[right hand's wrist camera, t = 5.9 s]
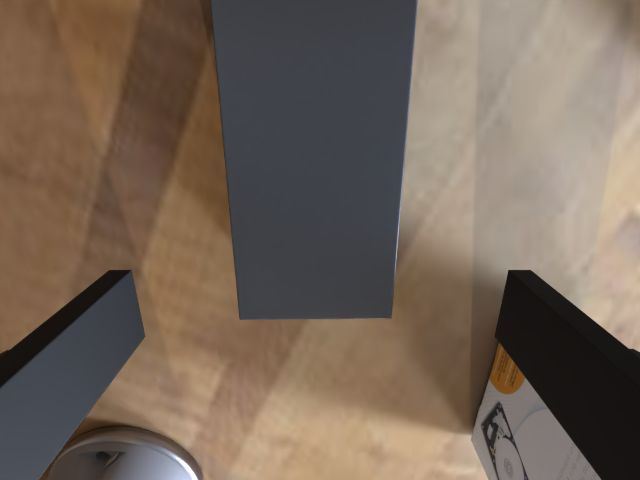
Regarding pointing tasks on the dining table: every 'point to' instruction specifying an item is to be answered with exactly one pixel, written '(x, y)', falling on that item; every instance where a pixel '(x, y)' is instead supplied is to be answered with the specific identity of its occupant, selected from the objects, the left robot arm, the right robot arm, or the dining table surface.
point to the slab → (314, 151)
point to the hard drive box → (523, 432)
